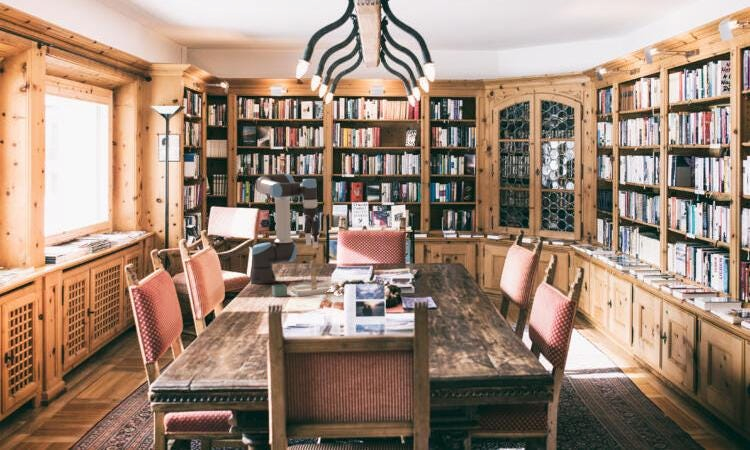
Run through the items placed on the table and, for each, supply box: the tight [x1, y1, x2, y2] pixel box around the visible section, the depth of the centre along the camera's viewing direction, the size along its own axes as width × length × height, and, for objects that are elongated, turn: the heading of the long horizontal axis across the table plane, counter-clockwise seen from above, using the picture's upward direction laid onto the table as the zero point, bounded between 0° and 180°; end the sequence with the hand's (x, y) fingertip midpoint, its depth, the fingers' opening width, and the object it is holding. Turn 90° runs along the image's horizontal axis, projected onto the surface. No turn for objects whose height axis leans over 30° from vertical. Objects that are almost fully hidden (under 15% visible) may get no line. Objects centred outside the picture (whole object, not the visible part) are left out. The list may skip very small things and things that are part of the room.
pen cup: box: [271, 284, 288, 297], centre depth 368 cm, size 7×7×5 cm
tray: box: [290, 282, 333, 297], centre depth 374 cm, size 16×22×2 cm
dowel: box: [309, 259, 317, 290], centre depth 373 cm, size 3×3×16 cm
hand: (312, 246), depth 372 cm, fingers open, 13 cm apart
